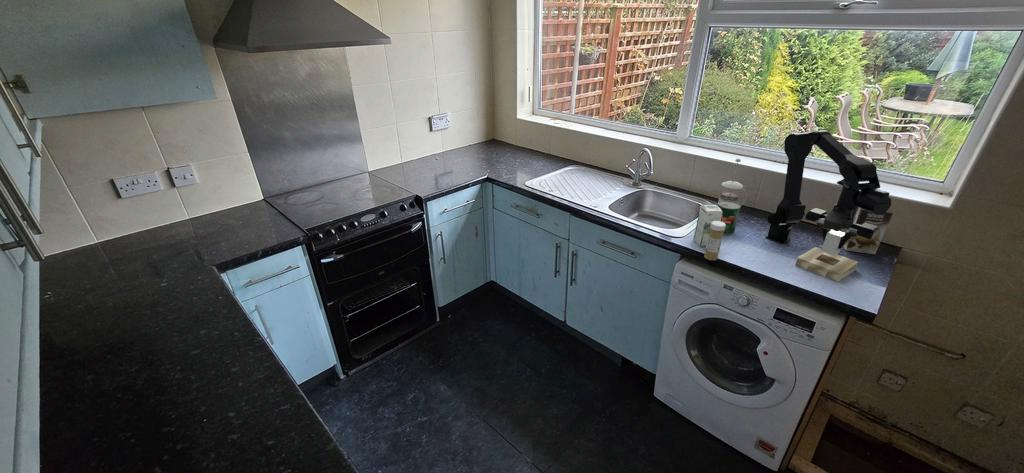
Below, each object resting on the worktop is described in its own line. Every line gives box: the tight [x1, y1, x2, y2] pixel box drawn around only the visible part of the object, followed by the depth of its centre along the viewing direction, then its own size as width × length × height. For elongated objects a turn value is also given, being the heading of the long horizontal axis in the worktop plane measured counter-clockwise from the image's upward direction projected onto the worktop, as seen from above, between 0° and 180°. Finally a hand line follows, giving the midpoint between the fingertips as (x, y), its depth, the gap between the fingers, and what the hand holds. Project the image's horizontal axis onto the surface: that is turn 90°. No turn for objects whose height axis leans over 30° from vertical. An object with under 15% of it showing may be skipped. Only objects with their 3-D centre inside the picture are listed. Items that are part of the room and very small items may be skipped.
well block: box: [794, 246, 859, 283], centre depth 145 cm, size 13×13×3 cm
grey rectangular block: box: [820, 229, 845, 256], centre depth 141 cm, size 4×4×7 cm
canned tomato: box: [717, 200, 742, 236], centre depth 169 cm, size 8×8×11 cm
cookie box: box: [842, 208, 893, 255], centre depth 153 cm, size 9×6×16 cm
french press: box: [716, 158, 749, 206], centre depth 178 cm, size 10×12×25 cm
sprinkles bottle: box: [703, 221, 726, 261], centre depth 149 cm, size 5×5×14 cm
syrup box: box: [693, 204, 723, 247], centre depth 158 cm, size 6×6×14 cm
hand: (832, 246), depth 142 cm, fingers closed on grey rectangular block, 4 cm apart
